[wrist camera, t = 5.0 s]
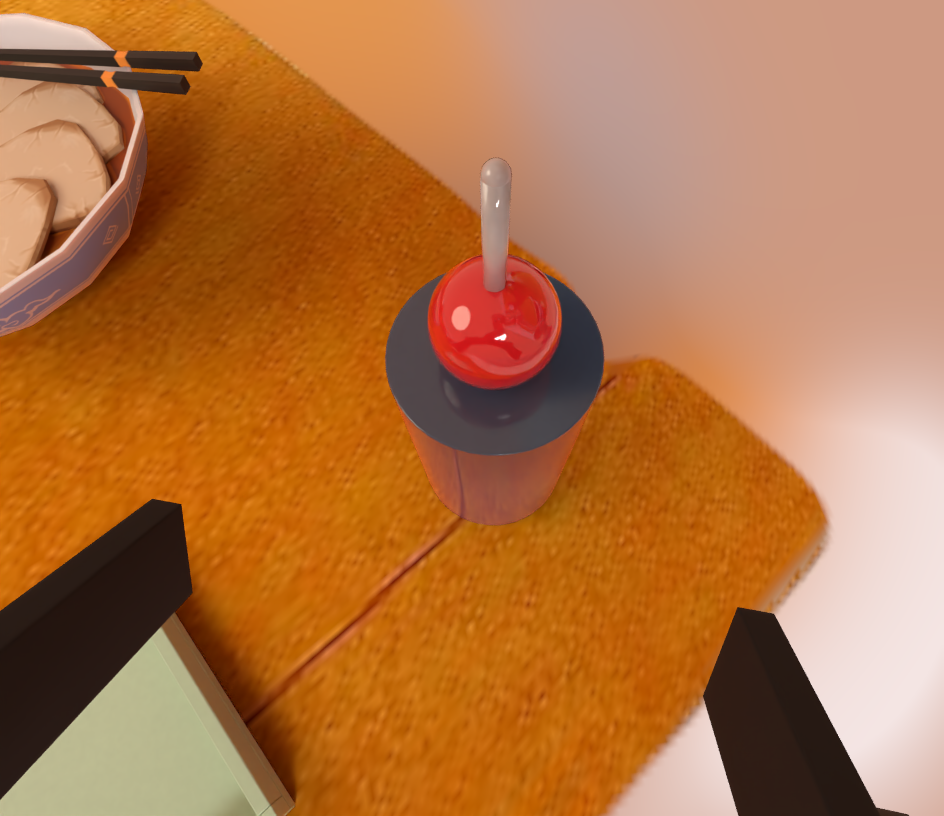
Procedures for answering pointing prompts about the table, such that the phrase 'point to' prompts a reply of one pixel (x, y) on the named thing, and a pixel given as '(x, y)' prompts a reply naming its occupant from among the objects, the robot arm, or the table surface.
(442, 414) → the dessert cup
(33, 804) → the serving tray
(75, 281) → the ramen bowl
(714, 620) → the table surface
